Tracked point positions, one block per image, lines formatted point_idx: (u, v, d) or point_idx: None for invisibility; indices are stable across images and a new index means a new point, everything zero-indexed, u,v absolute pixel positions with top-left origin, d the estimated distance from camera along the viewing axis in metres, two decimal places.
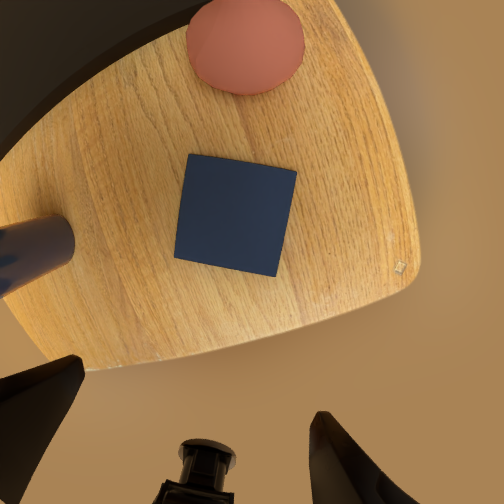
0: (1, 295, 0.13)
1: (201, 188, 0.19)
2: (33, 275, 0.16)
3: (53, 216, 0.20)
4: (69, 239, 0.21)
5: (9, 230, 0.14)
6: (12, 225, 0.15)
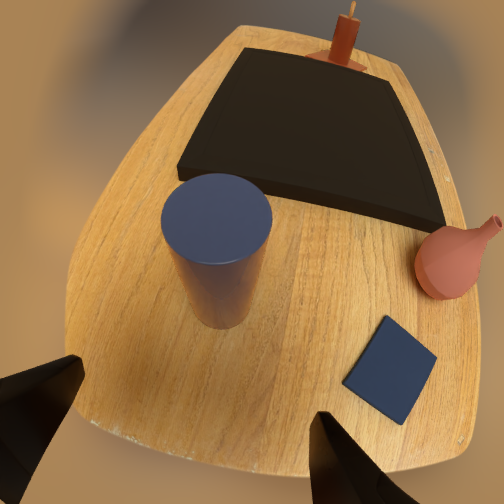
0: (223, 292, 0.14)
1: (386, 342, 0.22)
2: (231, 309, 0.18)
3: None
4: (248, 311, 0.23)
5: None
6: None
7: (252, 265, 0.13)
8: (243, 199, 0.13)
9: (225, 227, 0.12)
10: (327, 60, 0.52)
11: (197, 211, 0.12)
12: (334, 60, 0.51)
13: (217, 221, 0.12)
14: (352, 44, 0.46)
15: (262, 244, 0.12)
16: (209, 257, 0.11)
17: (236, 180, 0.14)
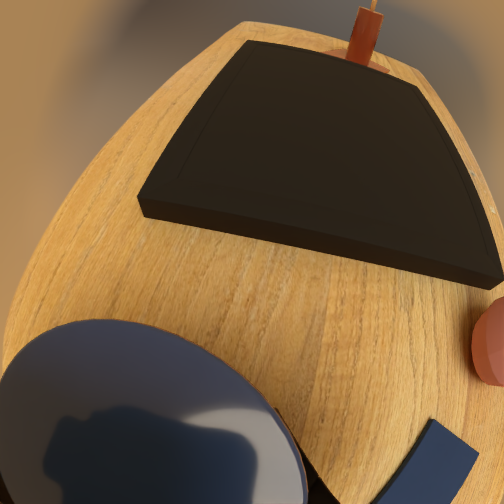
0: None
1: (428, 454, 0.12)
2: None
3: None
4: None
5: None
6: None
7: None
8: (204, 453, 0.03)
9: None
10: None
11: (60, 467, 0.02)
12: (353, 59, 0.42)
13: None
14: (374, 41, 0.37)
15: None
16: None
17: (180, 363, 0.03)
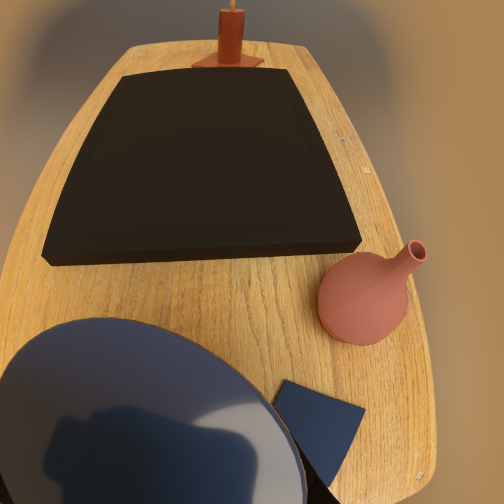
0: None
1: (289, 411, 0.19)
2: None
3: None
4: None
5: None
6: None
7: None
8: (203, 451, 0.03)
9: None
10: (216, 64, 0.48)
11: (59, 465, 0.02)
12: (223, 61, 0.48)
13: None
14: (240, 38, 0.44)
15: None
16: None
17: (178, 361, 0.03)
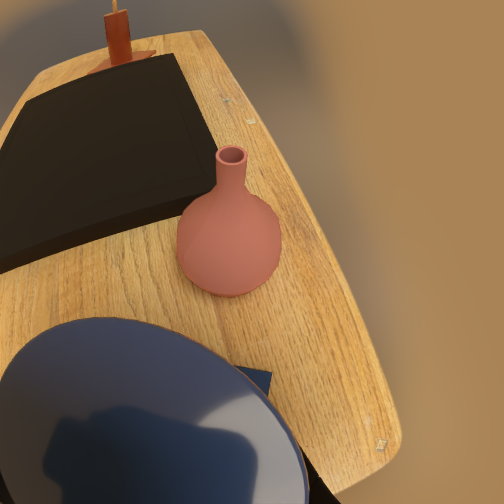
0: None
1: None
2: None
3: None
4: None
5: None
6: None
7: None
8: (206, 452, 0.03)
9: None
10: (109, 66, 0.43)
11: (61, 465, 0.02)
12: (115, 62, 0.43)
13: None
14: (126, 37, 0.39)
15: None
16: None
17: (180, 362, 0.03)
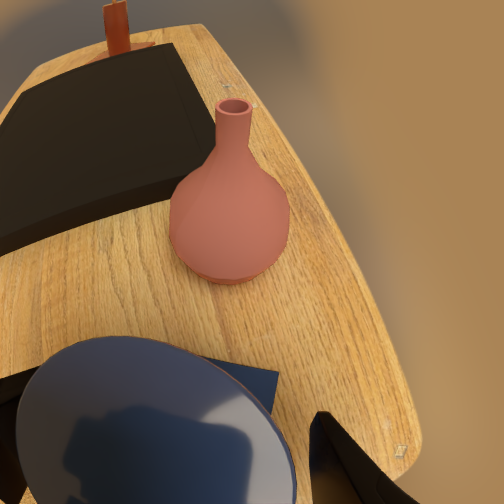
0: None
1: None
2: None
3: None
4: None
5: None
6: None
7: None
8: (209, 449, 0.03)
9: None
10: None
11: (83, 465, 0.03)
12: (113, 53, 0.41)
13: None
14: (125, 27, 0.37)
15: None
16: None
17: (187, 373, 0.04)
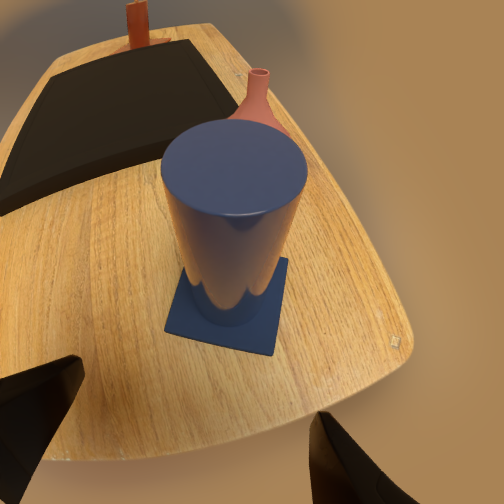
0: (238, 269, 0.11)
1: None
2: (245, 298, 0.14)
3: None
4: (261, 306, 0.19)
5: None
6: None
7: (281, 227, 0.10)
8: (269, 144, 0.10)
9: (247, 173, 0.09)
10: None
11: (209, 154, 0.09)
12: (135, 47, 0.47)
13: (236, 165, 0.09)
14: (146, 24, 0.43)
15: (297, 195, 0.09)
16: (225, 207, 0.08)
17: (259, 126, 0.10)
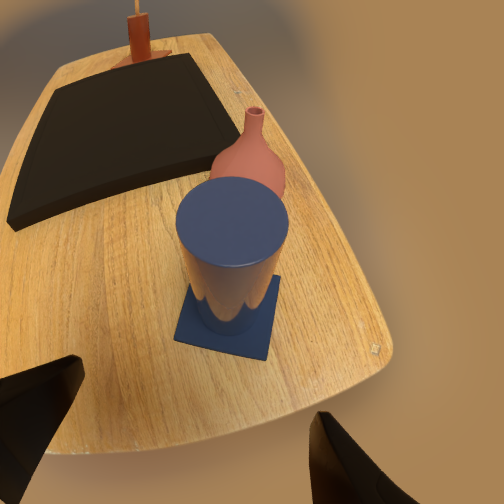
0: (236, 297, 0.14)
1: None
2: (241, 315, 0.18)
3: None
4: (256, 318, 0.23)
5: None
6: None
7: (267, 269, 0.13)
8: (259, 202, 0.13)
9: (242, 230, 0.12)
10: (130, 63, 0.50)
11: (212, 213, 0.12)
12: (136, 59, 0.50)
13: (233, 223, 0.12)
14: (147, 37, 0.46)
15: (279, 247, 0.12)
16: (226, 260, 0.11)
17: (252, 184, 0.14)
